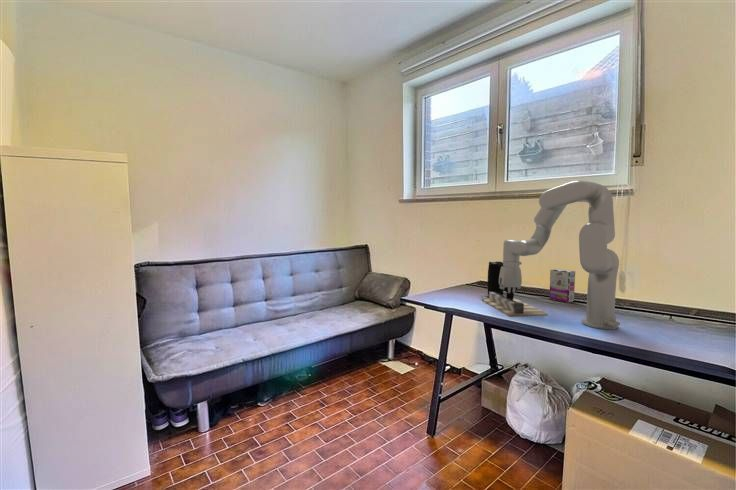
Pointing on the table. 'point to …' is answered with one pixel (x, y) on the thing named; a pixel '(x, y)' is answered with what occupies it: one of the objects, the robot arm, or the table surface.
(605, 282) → the robot arm
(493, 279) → the portable speaker
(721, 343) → the table surface
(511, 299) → the tongs arm
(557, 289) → the candy bar box
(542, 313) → the tongs board
